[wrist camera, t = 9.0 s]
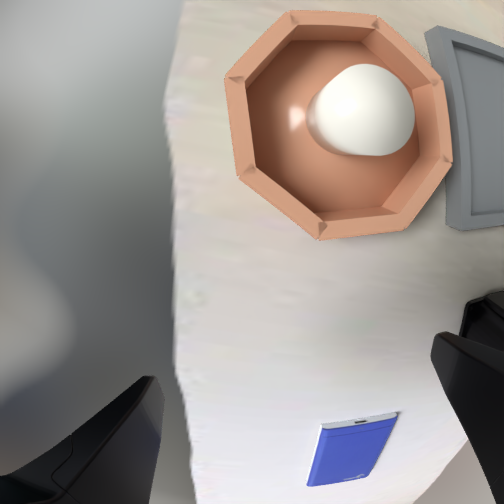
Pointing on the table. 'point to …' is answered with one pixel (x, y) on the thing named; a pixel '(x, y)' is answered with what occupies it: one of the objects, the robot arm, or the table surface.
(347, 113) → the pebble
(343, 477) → the hard drive
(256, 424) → the table surface
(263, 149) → the bowl
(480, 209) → the parts tray
